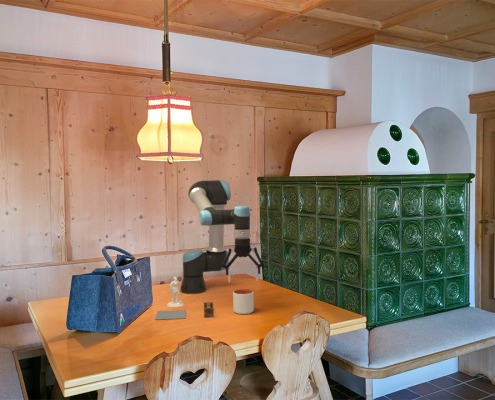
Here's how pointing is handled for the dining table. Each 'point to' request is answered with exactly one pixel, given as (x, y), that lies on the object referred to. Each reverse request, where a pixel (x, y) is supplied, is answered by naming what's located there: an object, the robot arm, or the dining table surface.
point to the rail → (208, 309)
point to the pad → (171, 315)
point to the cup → (243, 301)
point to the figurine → (173, 290)
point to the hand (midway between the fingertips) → (243, 281)
